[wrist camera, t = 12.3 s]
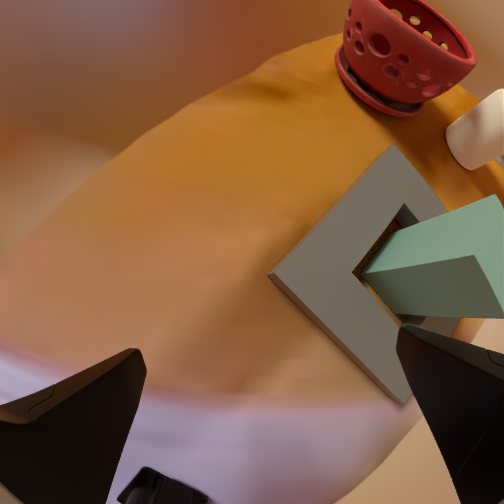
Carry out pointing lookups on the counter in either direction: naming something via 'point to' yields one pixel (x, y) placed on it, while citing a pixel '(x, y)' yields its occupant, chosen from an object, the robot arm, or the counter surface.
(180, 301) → the counter surface
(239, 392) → the counter surface
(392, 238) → the plug block
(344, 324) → the socket plate
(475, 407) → the robot arm
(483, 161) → the can
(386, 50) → the plant pot
